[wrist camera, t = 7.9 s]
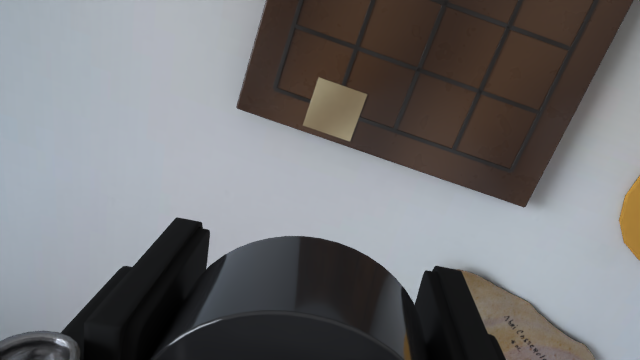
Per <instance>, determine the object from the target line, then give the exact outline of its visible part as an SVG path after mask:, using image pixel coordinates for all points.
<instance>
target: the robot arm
mask: <svg viewBox="0 0 640 360" xmlns="http://www.w3.org/2000/svg"><path fill="white" fill-rule="evenodd" d="M209 238H210V231H209V230H207V229H203V227H202V222H198V221H193V220H187V219H182V218H176V219H175V220H174V221H173V222H172V223H171V224H170V225H169V226H168V228H167V229H166V230H165V231H164V232H163V233H162V234H161V235H160V237H159V238H158V239H157V240H156V241H155V242H154V243H153V245H152V246H151V247H150V248H149V249H148V250H147V251H146V253H145V254H144V255H143V256H142V257H141V258H140V259H139V260H138V262H137V263H136V264H135V265H134V266H133V267H129V266H123V267H122V268H121V269H119V270H118V271H117V272H116V274H115V275H114V276H113V277H112V278H111V279H110V280H109V281H108V282H107V283H106V284H105V285H104V286H103V288H102V289H101V290H100V291H99V292H98V293H97V294H96V295H95V296H94V297H93V298H92V299H91V301H90V302H89V303H88V304H87V305H86V306H85V307H84V308H83V309H82V310H81V311H80V312H79V314H78V315H77V316H76V317H75V318H74V319H73V320H72V321H71V322H70V323H69V324H68V325H67V327H66V328H65V329H64V330H63V331H62V332H61V333H58V332H50V331H35V332H26V333H22V334H18V335H14V336H11V337H9V338H6V339H4V340H2V341H0V360H149V358H150V357H151V355H152V353H153V352H154V350H155V348H156V347H157V345H158V343H159V342H160V340H161V338H162V336H163V335H164V333H165V331H166V330H167V328H168V326H169V325H170V323H171V321H172V320H173V318H174V316H175V315H176V313H177V311H178V309H179V308H180V306H181V304H182V303H183V301H184V299H185V298H186V296H187V294H188V293H189V291H190V289H191V288H192V286H193V285H194V283H195V282H196V281H197V279H198V278H199V277H200V275H201V274H202V273H203V272H204V271H205V270H206V266H207V257H208V247H209ZM415 307H416V310H417V312H418V314H419V317H420V321H421V324H422V328H423V332H424V337H425V341H426V346H427V350H428V355H429V359H430V360H506V359H505V356H504V354H503V352H502V350H501V347H500V345H499V343H498V341H497V339H496V338H495V336H493V335H491V334H488V333H487V330H486V328H485V325H484V323H483V321H482V318H481V316H480V314H479V311H478V309H477V307H476V304H475V302H474V299H473V297H472V295H471V292H470V290H469V288H468V285H467V283H466V280H465V278H464V276H463V273H462V272H461V270H455V269H450V268H445V267H439V266H435V267H434V269H433V271H425V272H424V274H423V277H422V281H421V284H420V288H419V292H418V295H417V299H416V302H415Z"/></svg>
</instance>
